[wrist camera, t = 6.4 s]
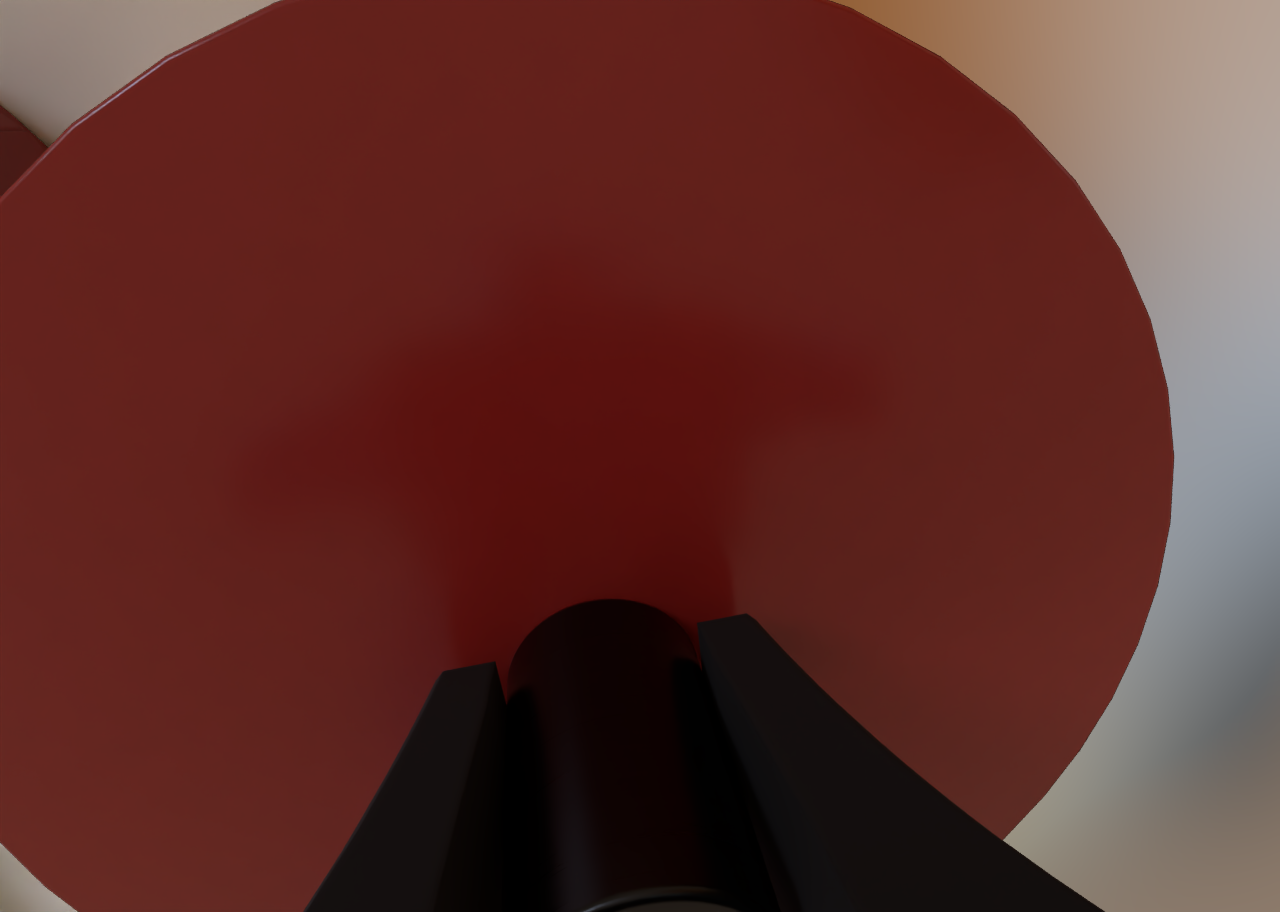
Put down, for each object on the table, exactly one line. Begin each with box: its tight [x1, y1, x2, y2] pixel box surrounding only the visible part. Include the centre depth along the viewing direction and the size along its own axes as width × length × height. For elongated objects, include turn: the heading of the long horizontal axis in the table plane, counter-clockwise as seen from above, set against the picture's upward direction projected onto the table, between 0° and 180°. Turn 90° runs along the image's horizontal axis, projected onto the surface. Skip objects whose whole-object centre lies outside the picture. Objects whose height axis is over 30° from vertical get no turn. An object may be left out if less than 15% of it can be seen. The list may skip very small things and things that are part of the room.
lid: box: [0, 0, 1174, 912], centre depth 8 cm, size 15×15×5 cm
